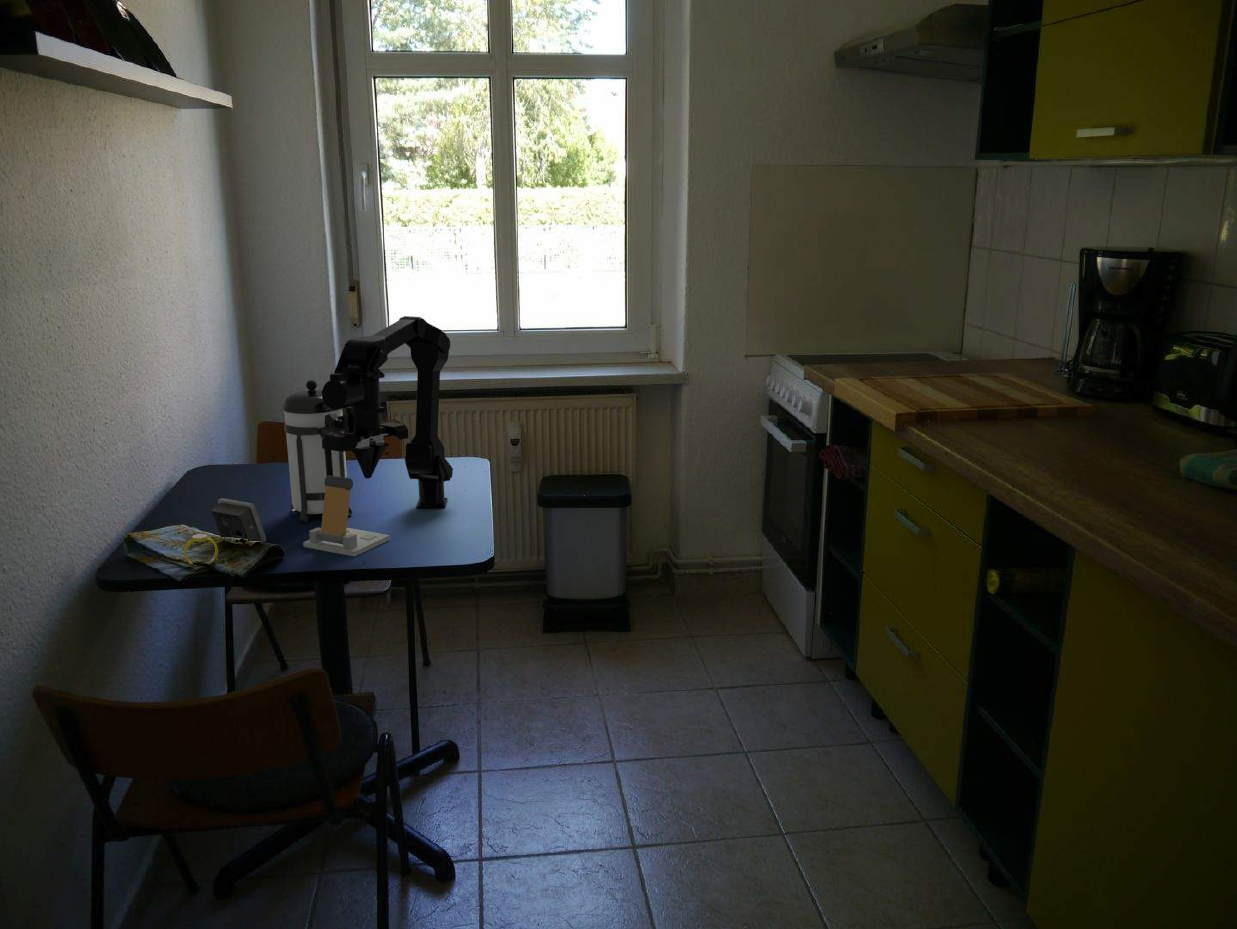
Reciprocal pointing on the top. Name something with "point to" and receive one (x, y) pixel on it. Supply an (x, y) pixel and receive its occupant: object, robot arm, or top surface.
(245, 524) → the electrical switch
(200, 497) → the top surface
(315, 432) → the coffee press
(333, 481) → the lever
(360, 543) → the switch base
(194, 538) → the watch
